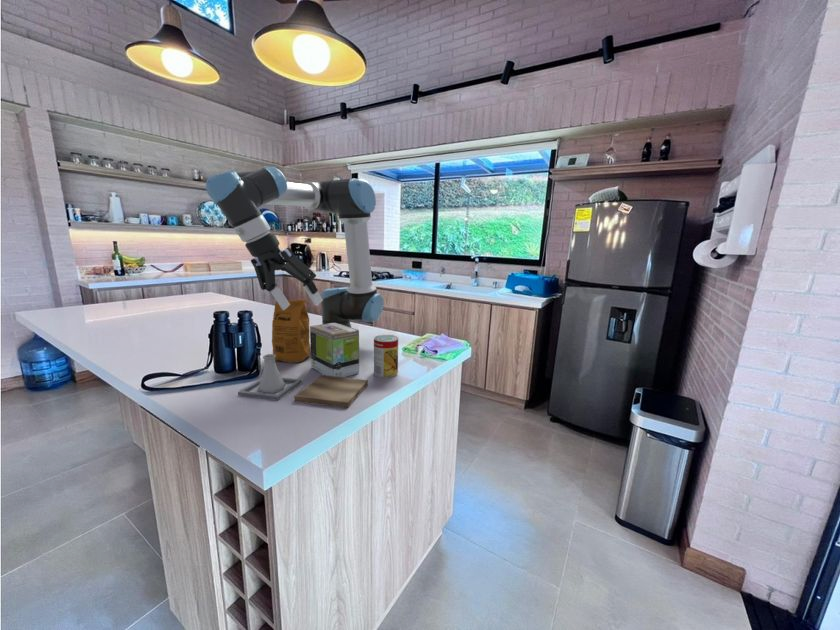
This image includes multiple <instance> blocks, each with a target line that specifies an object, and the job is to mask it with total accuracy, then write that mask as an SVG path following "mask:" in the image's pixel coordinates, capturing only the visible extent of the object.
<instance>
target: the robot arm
mask: <svg viewBox="0 0 840 630" xmlns="http://www.w3.org/2000/svg"><path fill="white" fill-rule="evenodd" d="M205 189H206V193H207V195H208V196H209V197H210V199H211V200H213V201H214V203H215V204H216V206H217V207H218V208H219V209H220V210H221V212H222V213H223V215H224V217H225V219H226V220H227V221H228V223H229V224H230V225H231V227H232V228H233V230H234V231H235V232H236V234H237V235H238V237H239V239H240V240H241V241H242V243H245V248H246V250H247V251H248V252H249V254H250V255H251V256H252V257H253V258H252V259H250V263H251V264H252V266H253V268H254V271H255V274H256V278H257V281H258V284H259V286H260V289H261V290H262V291H265V290H266V291H267V292H269V293H270V295H271V296H272V297H273V299H274V300H275V302H276V301H277V303H278V304H279V306H280V307H281V309H282V310H285V309H286V308H287V307H288V306H290V303H289V302H288V300H289V299H287V298H286V296H285V294H284V293H283V291H282V289H281V288H280V287H279V286H278V285H277V284H276V271H282V272H286V273H287V274H289V275H291V276H292V277H293V278H295V279H296V280H298V281H299V282H300V283H302V287H303V289H304V291H305V292H306V293H307V295H308V297H309V299H310V300H311V301H312V303H313V305H314V306H315V307H319V305H320V304H321V318H322V319H321V321H322V322H321V324H328V323H338V324H341V325H345V326H348V327H351V328H353V327H352V324H351V321H357V322H358V321H359V322H363V323H367V322H368V323H374V322H376V321H377V320H378V319H379V318H380V317H381V314H382V313H383V309H384V298H383V297H384V296H382V294H380V293H378V289H377V286H375V285H374V284H373V278H372V277H373V276H372V266H371V255H370V243H369V241H370V240H369V231H368V222H369V220H370V219H371V213H373V212H374V210H375V209H376V205H377V204H376V203H377V201H376V199H377V198H376V194H375V191H374V189H373V186H372V185H371V184H370V182H369V181H367V180H365V179H363V178H354V177H353V178H345V179H331V180H323V181H305V182H303V183H299V182H292V181H291V182H290V181H287V179H286V177H285V174H284V173H283V172H282V171H281V170H280V169H278V168H277V167H274V166H267V167H262V168H261V169H257V170H252V171H242V172H240V171H239V172H236V171H235V170H232V169H231V170H229V171H225V172H223V173H217V174H213V175H210V176H208V178H207V180H206V183H205ZM264 205H269V206H285V207H286V206H287V207H303V208H304V209H306V210H309V211H318V212H325V213H331V214H338V219H339V220H340V221H341V222H342V224H343V229H344V238H345V247H346V255H347V256H346V257H347V265H348V274H349V275H348V276H349V282H350V283H349V284H350V286H349V287H334V288H327V289H323V290H322V292H321V295H320V292H319V289H318V288H317V286H316V284H315V282H314V281H313V280H314V279H315V278H316V277H317V274H316V273H315V272H314V271H313V270H311V268H309V266H307V265H306V264H305V263H304V262H303V261H302V260H301V259H300V258H299V257H298V256H297V255H295V253H294V252H293V250H292V249H291V248H290V247H287V248H285V249H283V250H281V248H280V247H279V245H280V241H279V239H278V238H277V236H276V235H275V233H274V231H270V230H271V226H270V225H269V223H268V221H267V220H266V218H265V216H264V215H263V214H262V212H261V211H260V207H261V206H264Z"/></svg>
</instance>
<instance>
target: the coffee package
mask: <svg viewBox="0 0 840 630" xmlns="http://www.w3.org/2000/svg"><path fill="white" fill-rule="evenodd" d="M287 300H288V302H289V303H290V306H288V307H287V308H286V309H285V310H282V309H281V307H280V306H279V304H278V303H277V301H276V300H275V304H274V311H273V316H272V317H273V318H272V322H271V323H272V325H271V327H272V328H271V333H272V334H271V336H272V337H271V343H272V344H271V345H272V354H275V355H276V357H275V362H276V361H278V362H279V361H282V362H285V363H301V362H303V361H304V360H305V359H306V358H308V357H309V356H311V343H310V316H309V312H308V309H307V306H306V300H305V299H290V300H289V299H287Z"/></svg>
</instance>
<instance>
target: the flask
mask: <svg viewBox="0 0 840 630" xmlns="http://www.w3.org/2000/svg"><path fill="white" fill-rule="evenodd" d="M275 357H276V355H275V354H273V353H268V354H264V355H263V356H262V359H263V360H264V362H263V363H264V365H263V371H262V374H261V378H260V379H261V380H260V383H259V385H258V386H257V390H256V392H257V393H266V394H276V393H278V392H281V391H283V390H284V389H285V387H286V382H284V381H283V379H282V376H281V374H280V372H279V369H278V368H277V367H278V366H277V364H276V361H275Z"/></svg>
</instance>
